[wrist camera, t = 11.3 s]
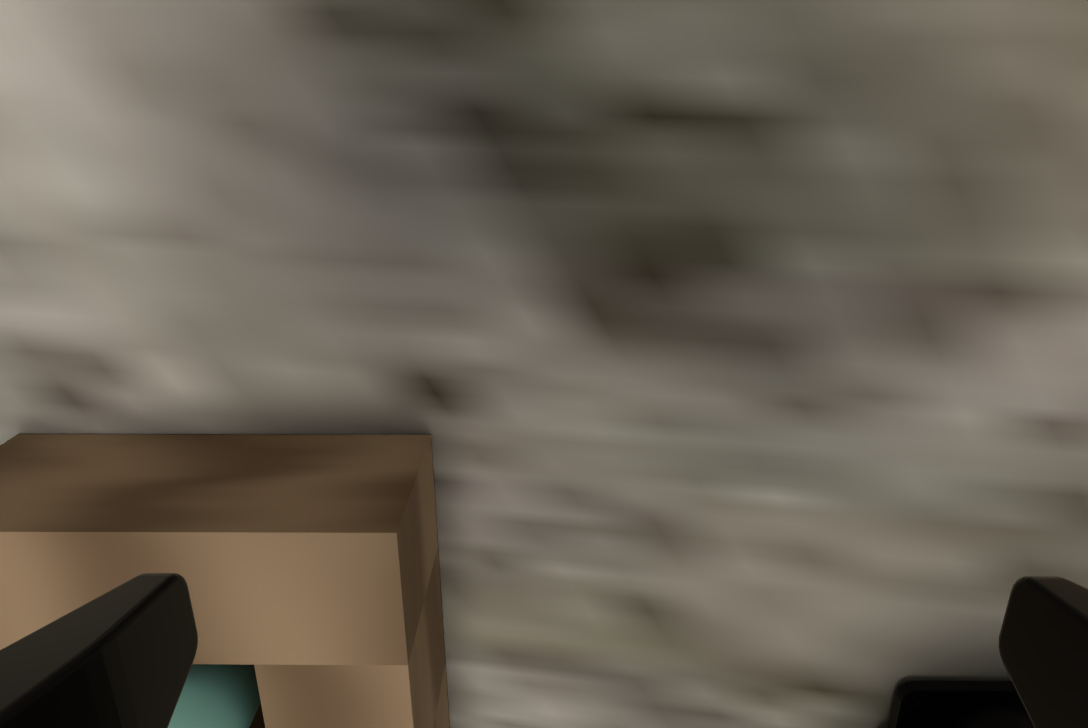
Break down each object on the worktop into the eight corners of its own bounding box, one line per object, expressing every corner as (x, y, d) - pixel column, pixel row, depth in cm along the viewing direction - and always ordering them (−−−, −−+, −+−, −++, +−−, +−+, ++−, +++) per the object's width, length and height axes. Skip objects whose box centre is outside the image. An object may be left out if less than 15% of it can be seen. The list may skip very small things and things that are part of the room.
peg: (296, 563, 23) (147, 841, 14) (307, 641, 24) (175, 942, 15) (200, 562, 23) (-5, 840, 14) (215, 640, 24) (33, 941, 15)
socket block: (430, 434, 21) (396, 532, 16) (451, 748, 25) (428, 897, 21) (18, 434, 21) (-133, 531, 17) (106, 746, 25) (5, 894, 21)
